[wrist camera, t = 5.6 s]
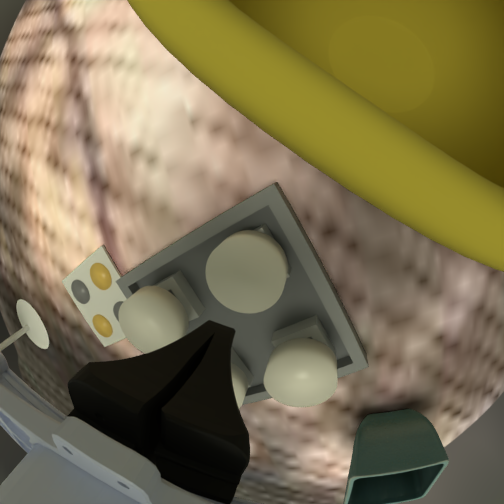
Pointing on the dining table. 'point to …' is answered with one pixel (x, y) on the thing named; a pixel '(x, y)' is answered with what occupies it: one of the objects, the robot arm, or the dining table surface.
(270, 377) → the button
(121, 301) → the card
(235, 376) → the button
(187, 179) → the dining table surface
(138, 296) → the button
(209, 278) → the button
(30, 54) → the dining table surface
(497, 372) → the dining table surface
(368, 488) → the flower pot
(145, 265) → the button board
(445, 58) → the flowerpot
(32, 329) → the wineglass
